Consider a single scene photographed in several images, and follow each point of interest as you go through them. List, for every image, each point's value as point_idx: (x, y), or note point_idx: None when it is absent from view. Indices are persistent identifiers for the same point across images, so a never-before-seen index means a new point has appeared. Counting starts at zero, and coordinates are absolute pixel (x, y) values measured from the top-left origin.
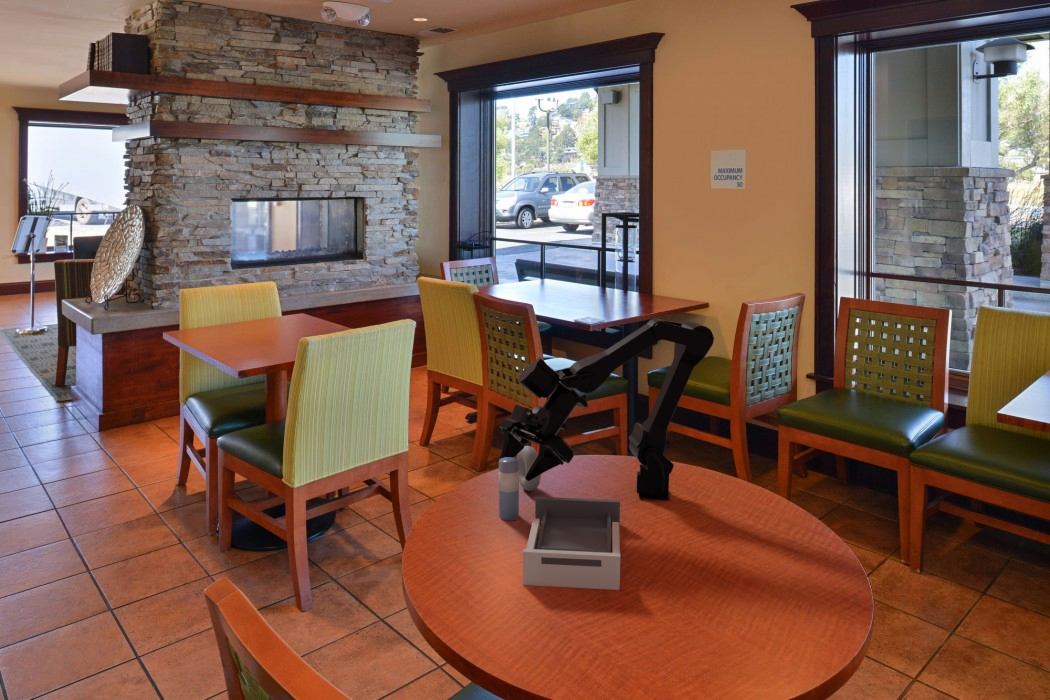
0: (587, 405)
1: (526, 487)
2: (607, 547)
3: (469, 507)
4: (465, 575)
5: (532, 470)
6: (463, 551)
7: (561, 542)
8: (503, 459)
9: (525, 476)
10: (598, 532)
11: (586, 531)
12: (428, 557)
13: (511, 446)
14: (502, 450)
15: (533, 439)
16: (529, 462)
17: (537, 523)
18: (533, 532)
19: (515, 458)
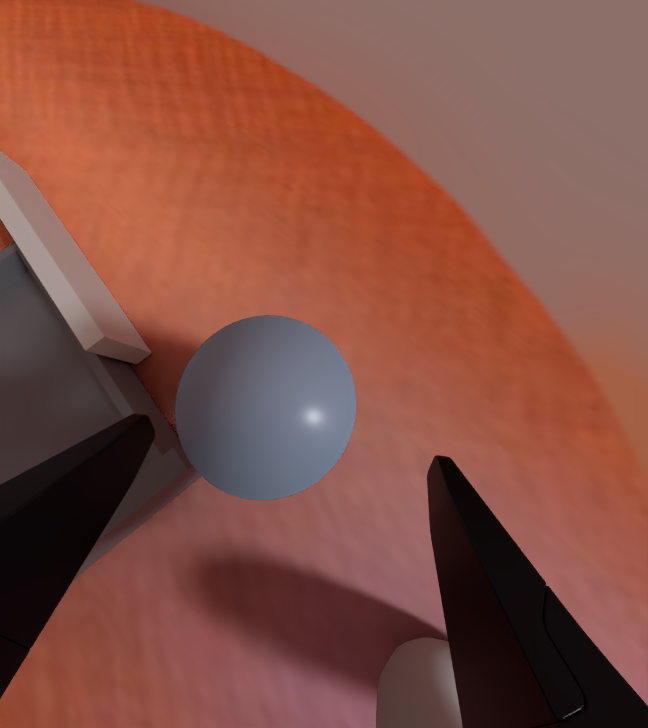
0: None
1: (426, 638)
2: None
3: (463, 370)
4: (152, 115)
5: (59, 453)
6: (240, 176)
7: (30, 355)
8: (322, 389)
9: (446, 679)
10: None
11: (6, 471)
12: (279, 106)
13: (519, 726)
14: (538, 580)
15: None
16: None
17: (68, 317)
18: (40, 260)
19: (260, 493)
